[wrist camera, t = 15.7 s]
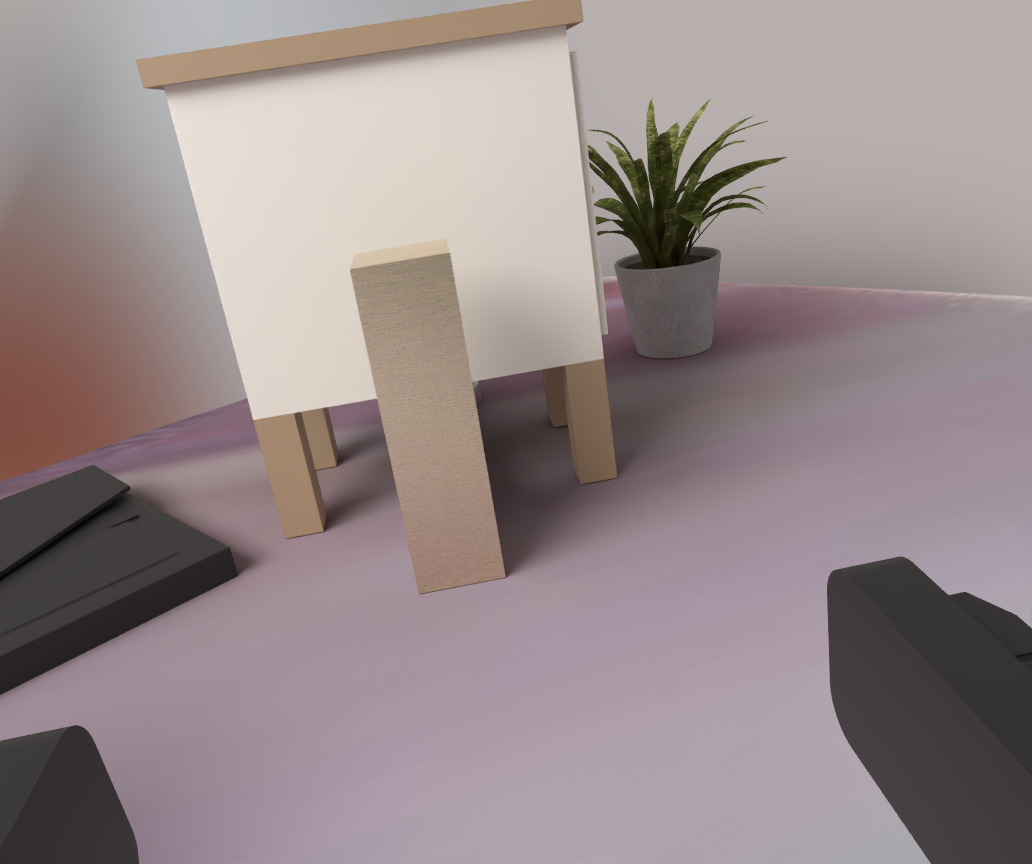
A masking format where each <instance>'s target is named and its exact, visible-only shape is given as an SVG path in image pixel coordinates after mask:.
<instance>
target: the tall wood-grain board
mask: <svg viewBox="0 0 1032 864" xmlns="http://www.w3.org/2000/svg"><path fill="white" fill-rule="evenodd" d="M350 274H351V278H352V283H353V288H354V292H355V297H356V302H357V307H358V311H359V316H360V321H361V325H362V330H363V335H364V339H365V344H366V349H367V353H368V358H369V363H370V367H371V372H372V377H373V381H374V386H375V391H376V395H377V400H378V405H379V409H380V414H381V419H382V423H383V428H384V433H385V438H386V442H387V447H388V452H389V456H390V461H391V466H392V470H393V475H394V480H395V484H396V489H397V494H398V498H399V503H400V508H401V512H402V517H403V522H404V526H405V531H406V536H407V540H408V545H409V550H410V554H411V559H412V564H413V568H414V573H415V578H416V583H417V587H418V592H419V594H421V593H426V592H432V591H437V590H442V589H447V588H453V587H458V586H463V585H468V584H474V583H479V582H484V581H490V580H495V579H500V578H505V577H506V576H505V570H504V564H503V558H502V552H501V547H500V541H499V535H498V529H497V523H496V518H495V512H494V506H493V500H492V494H491V488H490V483H489V477H488V471H487V465H486V459H485V453H484V448H483V442H482V436H481V430H480V424H479V418H478V413H477V407H476V401H475V395H474V389H473V383H472V378H471V372H470V366H469V360H468V354H467V349H466V343H465V337H464V331H463V325H462V319H461V314H460V308H459V302H458V296H457V290H456V284H455V279H454V273H453V267H452V261H451V255H450V251H449V248H448V245H447V242H446V239H442V240H436V241H430V242H424V243H418V244H412V245H406V246H400V247H394V248H388V249H382V250H376V251H370V252H364V253H358V254H355V255H354V258H353V261H352V263H351V266H350Z"/></svg>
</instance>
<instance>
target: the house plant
mask: <svg viewBox="0 0 1032 864" xmlns="http://www.w3.org/2000/svg"><path fill="white" fill-rule="evenodd" d="M708 102H709V101H708ZM708 102H706V104H705V105H704V106H703V107H702V108H701V109H700V110H699V111H698V112H697V113H696V114H695V115H694V117H693V118H692V119H691V121H690V122H689V123H688V125H687V126H686V127H685V129H684V130H683V132H682V133H681V135H680V137H678V132H679V126H678V124H677V123H676V124H674V125H673V126H672V127H671V128H670V129H669V130H668V131H667V132H665V133H662V134H660V135H659V136H658V133H657V129H656V125H655V119H654V107H653V104H652V100H651V101H650V104H649V108H648V113H647V128H646V131H647V151H648V171H649V181H650V185H651V189H652V192H653V198H654V204H653V208H652V204H651V200H650V191H649V181H648V178H647V174H646V170H645V167H644V164H643V161H642V159H638V160H635V161H633V159H632V157H631V155H630V153H629V152H628V150H627V148H626V147H625V146H624V144H623V143H622V142H621V141H620V140H619V139H618V138H617V137H615V136H614V135H613V134H611V133H609V132H606V131H601V130H591V131H597V132H603V133H606V134H609V135H611V136H612V137H614V138H615V139H616V140H617V141H618V142H619V143H620V144H621V145H622V146H623V148H624V149H625V151H626V152H627V154H628V155H627V154H626V153H625V152H624V151H623V150H621V149H620V148H619V147H617V146H614V145H613V144H611V143H609V142H607V143H608V145H609V147H610V149H611V150H612V151H613V152H614V153H615V154H616V157H617V160H618V163H619V165H620V166H621V168H622V169H623V171H624V172H625V174H626V175H627V177H628V179H629V181H630V183H631V186H632V189H633V192H634V195H635V198H636V201H637V203H638V206H639V208H638V206H637V204H636V203H635V201H634V199H633V198H632V196H631V195H630V193H629V192H628V191H627V188H626V187H625V185H624V183H623V181H622V180H621V178H620V177H619V175H618V174H617V173H616V171H615V170H614V169H613V168H612V167H611V166H610V165H609V164H608V163H607V162H606V161H605V160H604V159H603V158H602V157H601V156H600V155H599V154H598V153H597V152H596V151H595V150H594V148H592V147H591V146H589V145H587V147H588V148H589V149H590V150H591V151H592V152H591V151H590V150H588V157H589V159H590V160H591V161H592V162H593V163H594V164H595V165H597V166H598V167H599V168H600V169H601V170H602V171H603V173H604V174H603V173H602V172H601V171H600V170H598V169H597V168H596V167H595V166H594V165H593V164H591V163H590V162H589V166H590V168H591V169H592V170H593V171H594V172H595V173H596V174H597V175H598V176H600V178H601V179H603V180H604V181H605V182H606V183H607V184H608V185H609V186H610V187H611V188H612V189H613V190H614V191H615V193H616V194H617V196H618V197H619V198H620V199H621V201H622V203H623V204H622V203H621V202H620V201H618V200H615V199H613V198H605V199H601V200H599V201H597V202H596V203H594V206H598V207H601V208H604V209H606V210H608V211H611V212H612V213H614V214H616V215H618V216H619V217H620V218H621V219H622V220H623V221H621V220H612V221H614V222H615V223H616V224H618V225H619V226H620V227H621V228H622V229H623V230H624V231H599V232H597V236H598V235H601V234H604V233H618V234H623V235H624V236H626V237H628V238H629V239H630V240H631V241H632V242H633V243H634V245H635V246H636V247H637V249H638V251H639V253H638V254H634V255H631V256H628V257H625V258H622V259H620V260H618V261H617V262H616V263H615V265H614V267H615V271H616V275H617V278H618V282H619V286H620V290H621V293H622V297H623V301H624V304H625V308H626V312H627V316H628V319H629V323H630V327H631V330H632V334H633V338H634V342H635V345H636V349H637V352H638V353H639V354H640V355H642V356H645V357H650V358H678V357H685V356H690V355H694V354H698V353H701V352H703V351H705V350H707V349H709V348H710V347H711V345H712V341H713V331H714V321H715V311H716V301H717V290H718V280H719V270H720V259H721V253H720V251H719V250H717V249H715V248H709V247H692V246H693V244H694V243H695V242H696V240H697V239H698V238H699V237H700V235H701V234H702V233H703V232H702V233H701V234H700V226H701V223H702V222H703V221H705V220H706V219H707V218H708V217H710V216H712V215H714V214H716V213H720V212H721V211H723V210H727V209H732V208H740V207H749V208H753V209H757V208H756V207H754V206H752V205H751V204H748V203H732V204H727V205H725V206H722V207H720V208H718V209H716V210H714V211H712V212H710V213H708V212H709V211H710V210H711V209H712V208H713V207H714V206H715V205H717V204H719V203H721V202H722V201H725V200H729V199H734V198H748V199H753V200H755V201H758V202H760V203H762V202H761V201H760V200H758V199H756V198H754V197H751V196H748V195H740V194H741V193H743V192H745V191H748V190H752V189H757V188H762V187H755V188H750V189H747V190H745V191H743V192H741V193H740V194H738V195H731V196H726V197H723V198H720V199H719V200H717V201H715V202H713V203H712V204H711V205H710V206H709V207H708V208H707V209H706V210H705V211H704V212H703V213H702V211H703V210H704V208H705V207H706V205H707V204H708V202H709V200H710V199H711V197H712V196H713V195H714V194H715V193H716V192H718V191H719V190H720V189H721V188H722V187H724V186H726V185H728V184H729V183H731V182H733V181H735V180H737V179H739V178H740V177H743V176H744V175H746V174H748V173H750V172H751V171H753V170H755V169H757V168H758V167H761V166H765V165H768V164H772V163H775V162H778V161H780V160H782V159H784V158H785V157H784V158H783V157H782V158H775V159H766V160H759V161H754V162H750V163H746V164H743V165H739V166H736V167H733V168H730V169H727V170H725V171H723V172H720V173H719V174H716V175H714V176H712V177H711V178H709V179H707V180H706V181H704V182H702V183H701V182H699V183H697V182H698V180H699V178H700V176H701V174H702V172H703V171H704V169H705V167H706V165H707V164H708V162H709V161H710V160H711V158H712V157H713V156H714V155H715V154H716V153H717V152H718V151H719V150H721V149H722V148H724V147H726V146H728V145H731V144H734V143H739V142H744V141H734V142H731V143H728V144H726V145H724V146H723V147H721V146H722V144H723V142H724V140H725V139H726V138H727V136H729V135H731V134H733V133H735V132H738V131H740V130H743V129H745V128H748V127H751V126H754V125H758V124H760V123H758V124H754V125H751V126H748V127H745V128H742V129H740V130H737V131H735V132H732V131H733V130H734V129H735V128H736V127H737V126H739V125H740V124H742V123H743V122H744V121H746V120H747V119H749V118H751V117H749V118H747V119H744V120H742V121H740V122H738V123H737V124H735V125H733V126H732V127H730V128H729V129H728V130H726V131H725V132H724V133H723V134H722V135H721V136H720V137H719V138H718V139H717V140H716V141H715V142H714V143H713V144H711V145H710V146H709V147H708V148H707V149H706V150H704V151H703V152H702V153H701V154H700V156H699V157H698V158H697V159H696V160H695V162H694V163H693V164H692V166H691V167H690V169H689V170H688V172H687V173H686V175H685V176H684V178H683V180H682V182H681V183H680V185H679V187H678V189H677V190H676V191H674V190H675V183H676V177H677V170H678V165H679V159H680V157H681V154H682V152H683V149H684V147H685V144H686V142H687V140H688V137H689V135H690V133H691V131H692V128H693V127H694V125H695V123H696V122H697V120H698V118H699V117H700V115H701V114H702V113H703V111H704V110H705V108H706V106H707V104H708ZM763 123H764V122H763ZM730 132H732V133H730ZM720 147H721V148H720ZM693 171H694V172H693ZM691 174H692V175H691ZM690 176H691V177H690ZM689 177H690V179H689ZM688 179H689V181H688V184H687V186H685V184H686V182H687V180H688ZM700 183H701V184H700ZM698 184H700V186H699V187H698V188H697V189H696V190H695V191H694V189H695V187H696V185H698ZM684 186H685V187H684ZM683 191H685V192H684V194H683V196H682V198H681V200H680V202H678V203H677V200H678V198H679V195H680V193H681V192H683ZM693 191H694V192H693ZM731 201H732V200H731ZM763 204H764V203H763ZM639 209H640V210H639ZM757 210H758V209H757ZM707 213H708V214H707ZM706 214H707V215H706ZM705 215H706V216H705ZM718 215H719V214H718ZM718 215H717V216H718ZM717 216H716V217H717ZM716 217H715V218H716ZM595 220H596V225H597V224H600V223H603V222H606V221H611V220H610V219H606V218H602V217H595ZM713 220H714V219H713ZM713 220H712V221H713ZM712 221H711V222H712ZM694 225H695V227H694V229H693V230H692V232H691V233H690V235H689V232H690V231H691V229H692V227H693V226H694ZM709 225H710V224H709ZM709 225H708V226H709ZM708 226H707V227H708ZM707 227H706V228H707ZM706 228H705V229H706ZM697 229H698V232H699V234H700V235H699V236H698V238H697V239H696V240H695V241H694V243H693V244H692V240H693V238H694V235H695V233H696V230H697ZM705 229H704V230H705ZM704 230H703V231H704ZM688 235H689V236H688ZM689 239H690V241H689V245H688V247H686V244H687V242H688V240H689ZM691 244H692V245H691Z"/></svg>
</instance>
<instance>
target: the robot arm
mask: <svg viewBox="0 0 1032 864" xmlns="http://www.w3.org/2000/svg"><path fill="white" fill-rule="evenodd" d="M827 602H828V633H829V664H830V688H831V695H832V700H833V705H834V708H835V712H836V715H837V718H838V721H839V724H840V726H841V729H842V731H843V733H844V735H845V737H846V739H847V741H848V743H849V744H850V746H851V747H852V749H853V750H854V752H855V753H856V755H857V756H858V758H859V759H860V761H861V762H862V764H863V765H864V766H865V768H866V769H867V771H868V772H869V774H870V775H871V777H872V778H873V780H874V781H875V782H876V784H877V785H878V787H879V788H880V790H881V791H882V793H883V794H884V796H885V797H886V799H887V800H888V801H889V803H890V804H891V806H892V807H893V809H894V810H895V812H896V813H897V815H898V816H899V818H900V819H901V820H902V822H903V823H904V825H905V826H906V828H907V829H908V831H909V832H910V834H911V835H912V836H913V838H914V839H915V841H916V842H917V844H918V845H919V847H920V848H921V850H922V851H923V853H924V854H925V855H926V857H927V858H928V860H929V861H930V863H931V864H1032V628H1031V627H1029V626H1028V625H1027V624H1026V623H1025V622H1024V621H1022V620H1021V619H1020V618H1019V617H1018V616H1017V615H1015V614H1013V613H1011V612H1008V611H1006V610H1004V609H1002V608H1000V607H997V606H995V605H993V604H991V603H989V602H986V601H984V600H982V599H980V598H978V597H975V596H973V595H971V594H969V593H967V592H962V593H958V594H953V595H948V594H946V593H945V592H944V591H943V590H942V589H941V588H940V587H939V586H938V585H937V584H936V583H934V582H933V581H932V580H931V579H930V578H929V577H928V576H927V575H926V574H925V573H924V572H923V571H921V570H920V569H919V568H918V567H917V566H916V565H915V564H914V563H913V562H911V561H910V560H909V559H907V558H905V557H895V558H891V559H886V560H881V561H876V562H871V563H867V564H862V565H857V566H852V567H847V568H842V569H838V570H834V571H832V572H831V574H830V576H829V579H828V584H827ZM0 864H139V858H138V849H137V843H136V840H135V836H134V833H133V830H132V828H131V826H130V823H129V821H128V819H127V816H126V814H125V812H124V809H123V807H122V805H121V802H120V800H119V798H118V795H117V793H116V791H115V789H114V786H113V784H112V782H111V779H110V777H109V775H108V772H107V770H106V768H105V765H104V763H103V761H102V758H101V756H100V754H99V751H98V749H97V747H96V745H95V742H94V740H93V738H92V737H91V735H90V734H89V732H88V731H87V730H86V729H85V728H83V727H81V726H77V725H75V726H70V727H65V728H60V729H55V730H51V731H46V732H41V733H36V734H31V735H26V736H22V737H17V738H12V739H7V740H2V741H0Z"/></svg>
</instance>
